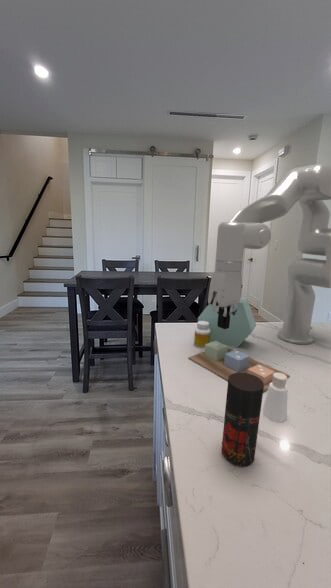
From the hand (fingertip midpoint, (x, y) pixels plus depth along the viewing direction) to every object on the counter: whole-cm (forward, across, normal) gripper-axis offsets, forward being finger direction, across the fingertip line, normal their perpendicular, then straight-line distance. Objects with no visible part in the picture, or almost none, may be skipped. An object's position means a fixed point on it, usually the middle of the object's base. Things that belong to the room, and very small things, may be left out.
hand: (223, 327), depth 80 cm
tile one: (+11, 0, -2) cm, 11 cm away
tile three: (+12, 0, +14) cm, 18 cm away
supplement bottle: (+12, -3, -11) cm, 17 cm away
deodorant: (+12, +25, +24) cm, 37 cm away
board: (+12, 0, +6) cm, 13 cm away
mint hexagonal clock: (+12, -13, -9) cm, 20 cm away
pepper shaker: (+12, +11, +24) cm, 29 cm away
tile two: (+11, 0, +6) cm, 12 cm away
